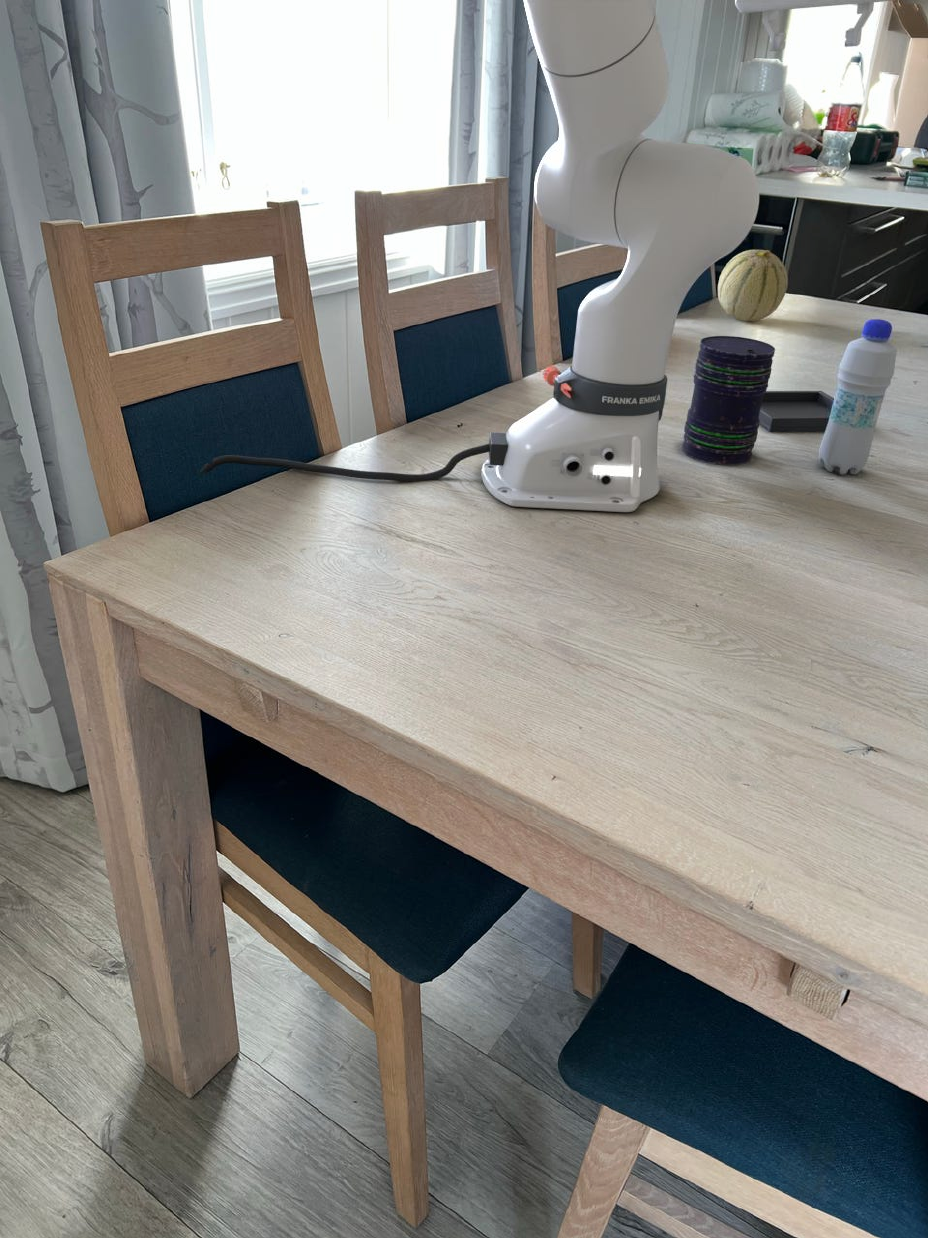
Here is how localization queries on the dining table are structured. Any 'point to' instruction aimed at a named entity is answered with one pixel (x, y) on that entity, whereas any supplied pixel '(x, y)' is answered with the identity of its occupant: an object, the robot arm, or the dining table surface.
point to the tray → (795, 411)
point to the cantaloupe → (752, 285)
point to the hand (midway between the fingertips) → (814, 47)
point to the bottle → (858, 398)
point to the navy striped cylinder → (727, 399)
